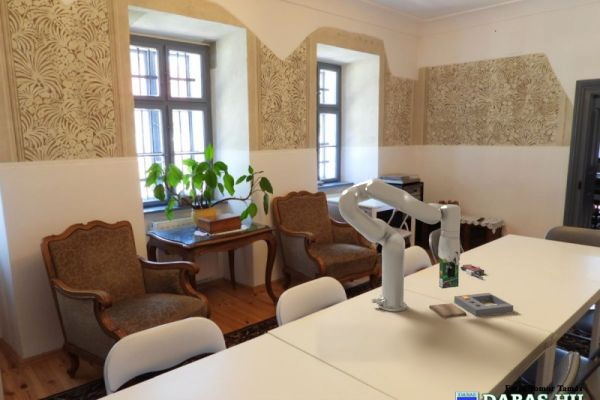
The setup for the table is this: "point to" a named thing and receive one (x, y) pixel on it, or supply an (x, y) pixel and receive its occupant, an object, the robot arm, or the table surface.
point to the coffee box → (443, 275)
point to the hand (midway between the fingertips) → (448, 275)
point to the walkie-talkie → (473, 270)
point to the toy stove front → (479, 309)
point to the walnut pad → (447, 310)
